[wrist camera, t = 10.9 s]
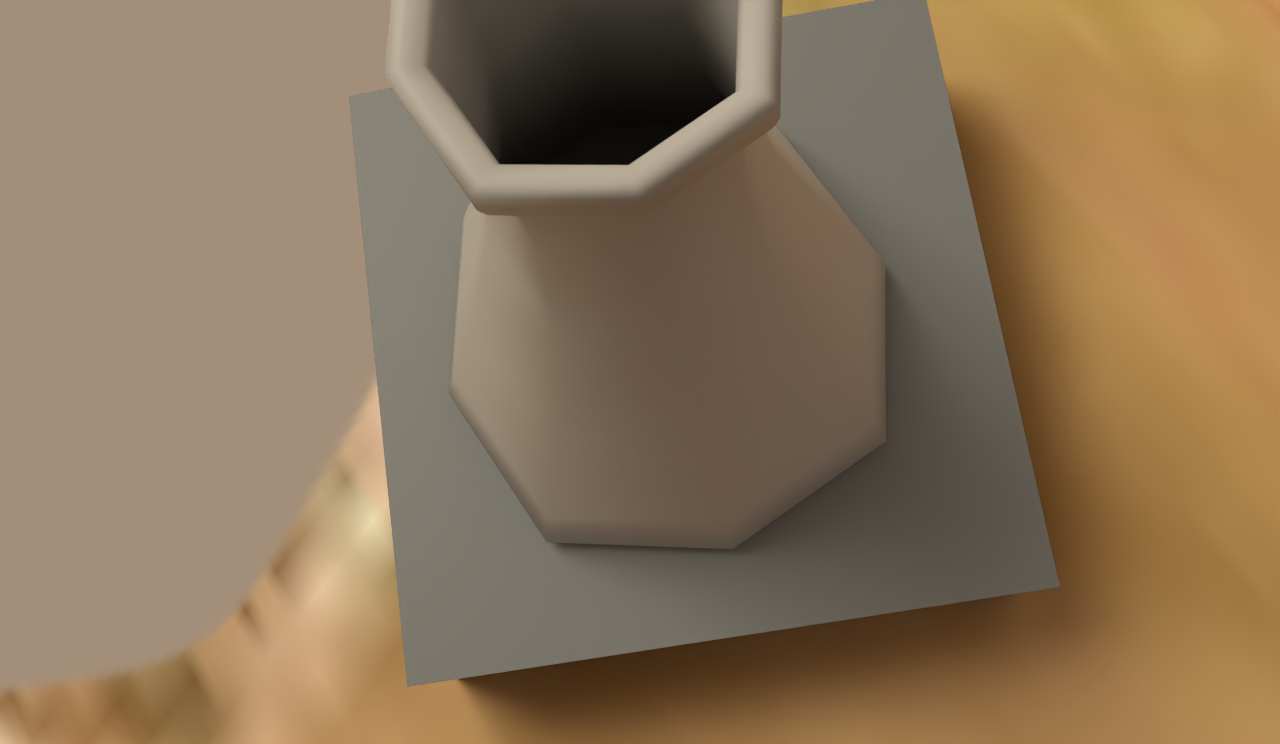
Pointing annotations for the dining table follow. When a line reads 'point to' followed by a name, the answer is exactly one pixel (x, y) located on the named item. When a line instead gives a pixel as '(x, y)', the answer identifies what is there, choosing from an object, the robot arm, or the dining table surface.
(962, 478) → the dock
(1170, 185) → the dining table surface
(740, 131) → the flask
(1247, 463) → the dining table surface
